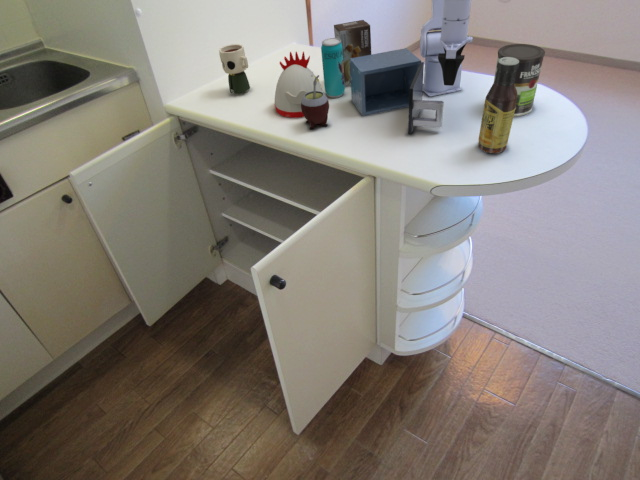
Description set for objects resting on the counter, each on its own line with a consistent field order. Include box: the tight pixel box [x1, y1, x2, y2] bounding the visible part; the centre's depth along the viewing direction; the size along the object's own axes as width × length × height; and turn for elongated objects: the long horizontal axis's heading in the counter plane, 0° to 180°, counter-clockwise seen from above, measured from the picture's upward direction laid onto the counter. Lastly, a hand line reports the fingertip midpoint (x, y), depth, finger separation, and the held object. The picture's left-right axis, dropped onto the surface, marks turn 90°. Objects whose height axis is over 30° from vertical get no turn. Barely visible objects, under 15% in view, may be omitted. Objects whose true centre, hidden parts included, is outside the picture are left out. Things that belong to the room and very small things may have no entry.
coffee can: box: [493, 43, 546, 117], centre depth 113 cm, size 10×10×14 cm
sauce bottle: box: [478, 57, 519, 154], centre depth 98 cm, size 6×6×20 cm
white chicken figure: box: [274, 51, 324, 119], centre depth 125 cm, size 14×14×15 cm
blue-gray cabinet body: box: [350, 47, 422, 117], centre depth 123 cm, size 10×16×12 cm, turn 103°
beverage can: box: [320, 37, 346, 99], centre depth 129 cm, size 6×6×15 cm
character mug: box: [218, 43, 251, 95], centre depth 137 cm, size 11×7×13 cm, turn 53°
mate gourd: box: [301, 74, 330, 131], centre depth 116 cm, size 8×8×15 cm
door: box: [407, 61, 445, 135], centre depth 113 cm, size 8×16×12 cm, turn 162°
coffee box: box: [333, 19, 372, 88], centre depth 134 cm, size 9×6×16 cm
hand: (450, 78), depth 110 cm, fingers open, 7 cm apart
